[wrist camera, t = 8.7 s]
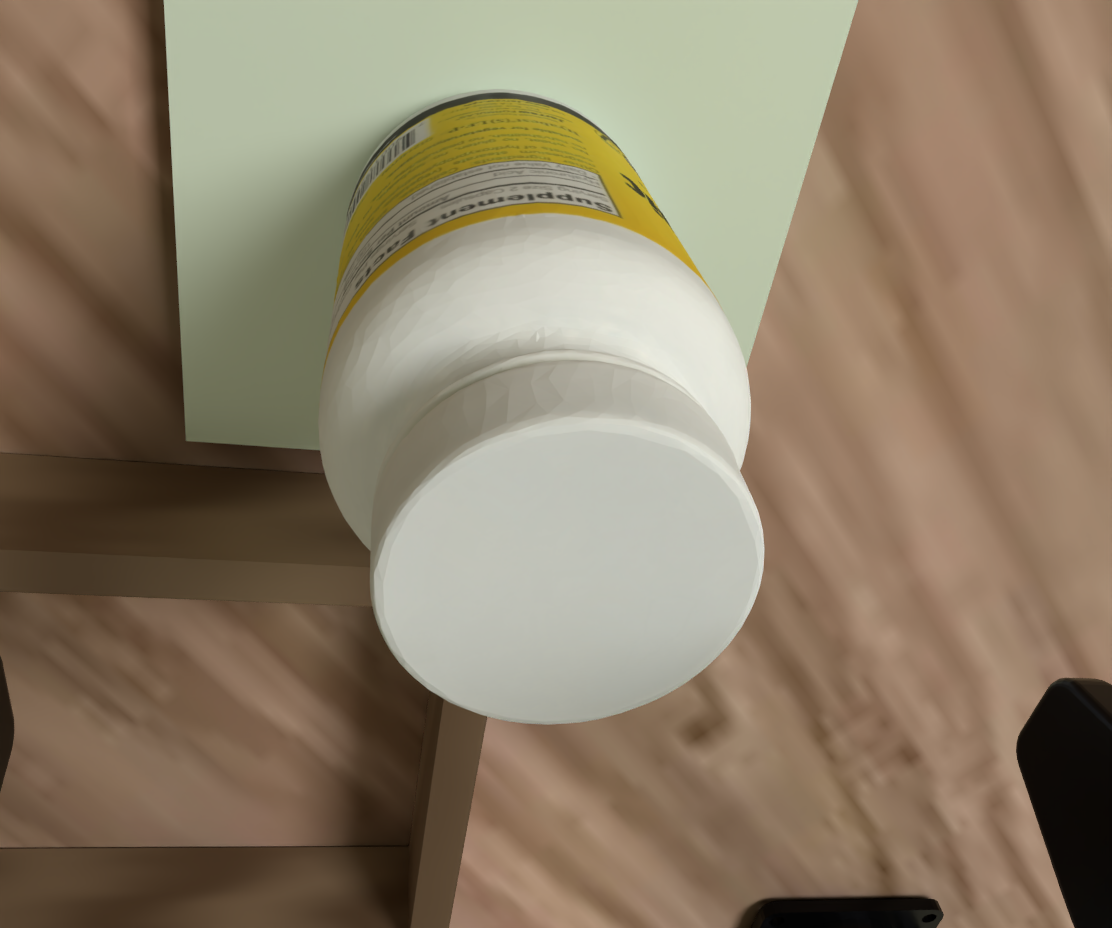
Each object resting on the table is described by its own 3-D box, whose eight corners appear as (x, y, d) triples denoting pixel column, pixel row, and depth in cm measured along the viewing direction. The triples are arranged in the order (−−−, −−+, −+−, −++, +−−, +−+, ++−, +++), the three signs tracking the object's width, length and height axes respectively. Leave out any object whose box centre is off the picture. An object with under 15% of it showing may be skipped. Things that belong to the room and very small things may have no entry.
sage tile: (850, -26, 17) (864, -22, 16) (706, 462, 22) (713, 477, 21) (165, -148, 14) (156, -146, 14) (191, 425, 20) (185, 440, 19)
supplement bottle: (647, 350, 19) (810, 740, 11) (374, 381, 19) (343, 804, 11) (645, 63, 16) (864, 320, 8) (319, 94, 16) (219, 391, 8)
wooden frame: (501, 485, 22) (512, 574, 19) (439, 866, 29) (441, 965, 27) (-331, 431, 19) (-445, 528, 16) (-160, 872, 26) (-219, 984, 24)
